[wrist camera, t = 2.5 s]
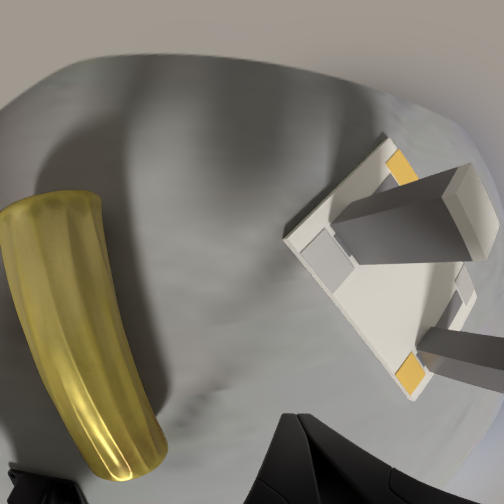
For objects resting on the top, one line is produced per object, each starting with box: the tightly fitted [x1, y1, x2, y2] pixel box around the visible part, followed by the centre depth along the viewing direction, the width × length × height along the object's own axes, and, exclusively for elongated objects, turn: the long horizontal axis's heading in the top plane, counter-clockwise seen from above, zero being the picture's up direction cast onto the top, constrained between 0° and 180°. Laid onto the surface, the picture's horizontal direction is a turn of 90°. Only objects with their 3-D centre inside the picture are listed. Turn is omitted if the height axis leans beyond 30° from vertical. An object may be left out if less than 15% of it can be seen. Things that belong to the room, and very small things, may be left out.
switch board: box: [282, 138, 477, 401], centre depth 22 cm, size 13×19×1 cm
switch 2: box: [416, 327, 504, 393], centre depth 17 cm, size 2×4×10 cm
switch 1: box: [330, 163, 500, 265], centre depth 15 cm, size 2×4×10 cm
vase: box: [0, 190, 168, 481], centre depth 13 cm, size 6×6×14 cm
